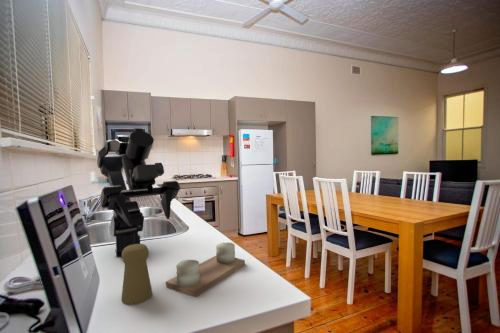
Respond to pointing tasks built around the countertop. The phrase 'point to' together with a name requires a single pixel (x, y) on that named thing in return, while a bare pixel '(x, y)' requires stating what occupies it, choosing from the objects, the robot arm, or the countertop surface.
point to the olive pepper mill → (135, 275)
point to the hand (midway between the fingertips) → (150, 221)
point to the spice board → (205, 271)
